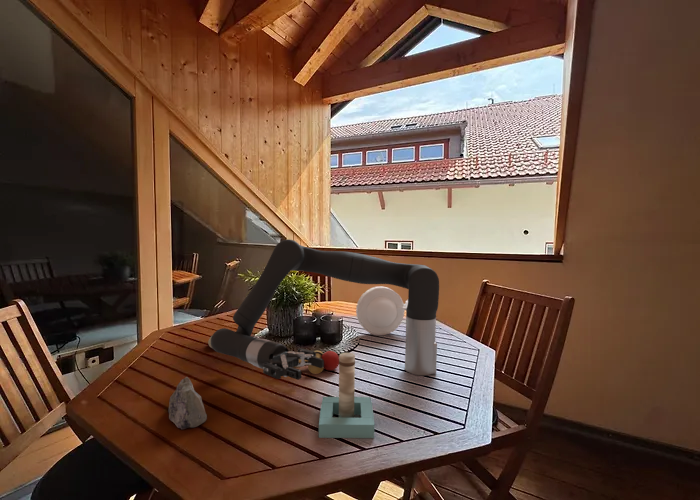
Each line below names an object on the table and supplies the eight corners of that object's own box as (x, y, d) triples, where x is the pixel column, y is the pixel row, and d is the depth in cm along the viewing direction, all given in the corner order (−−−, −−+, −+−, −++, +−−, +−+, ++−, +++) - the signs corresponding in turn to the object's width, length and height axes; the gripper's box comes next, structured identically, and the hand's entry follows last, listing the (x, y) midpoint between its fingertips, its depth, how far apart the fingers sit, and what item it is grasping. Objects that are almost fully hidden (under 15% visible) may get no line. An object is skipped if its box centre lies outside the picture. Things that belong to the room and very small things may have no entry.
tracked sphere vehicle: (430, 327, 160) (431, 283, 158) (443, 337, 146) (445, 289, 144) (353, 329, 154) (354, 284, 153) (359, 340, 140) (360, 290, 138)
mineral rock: (175, 402, 91) (174, 364, 90) (219, 401, 92) (218, 363, 91) (152, 432, 78) (151, 388, 78) (203, 430, 79) (202, 386, 79)
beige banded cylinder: (351, 416, 85) (352, 351, 84) (356, 425, 82) (357, 357, 81) (336, 419, 84) (337, 353, 83) (341, 427, 81) (341, 359, 79)
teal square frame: (370, 408, 89) (371, 397, 89) (374, 438, 77) (374, 424, 77) (322, 408, 89) (322, 396, 89) (318, 437, 77) (318, 424, 77)
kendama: (281, 380, 108) (340, 372, 108) (278, 359, 108) (337, 351, 109) (285, 374, 115) (340, 366, 116) (283, 354, 116) (338, 346, 116)
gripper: (245, 348, 91) (292, 363, 82) (285, 334, 103) (330, 346, 94) (245, 377, 92) (291, 395, 82) (285, 359, 103) (329, 374, 94)
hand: (312, 369), depth 88 cm, fingers open, 8 cm apart
